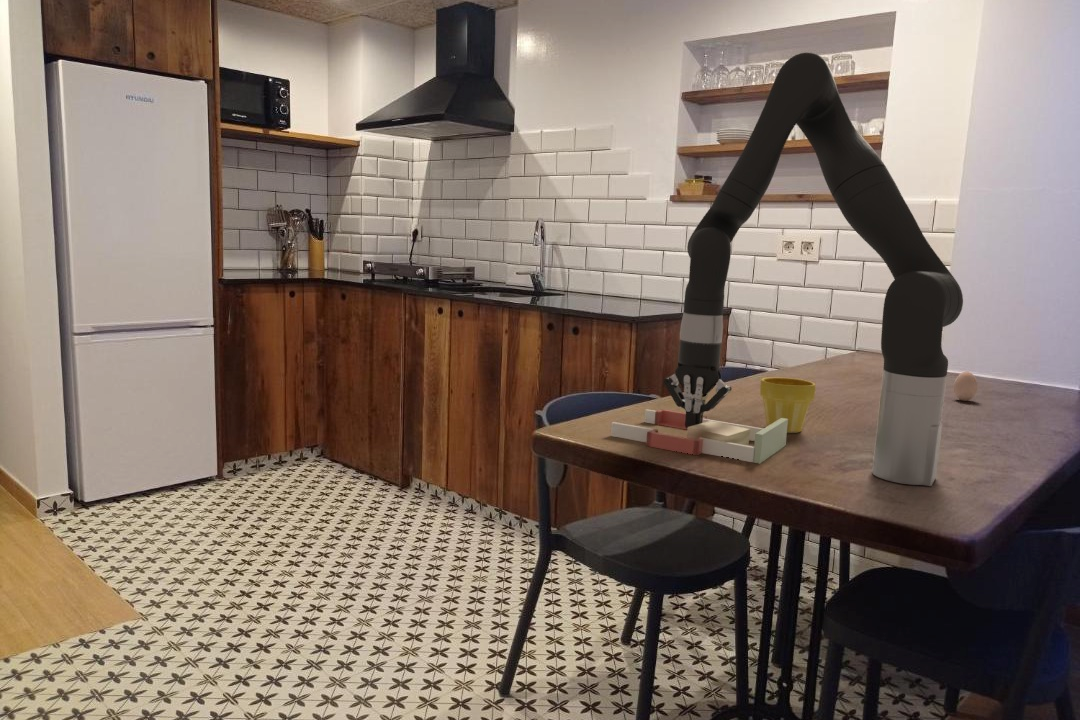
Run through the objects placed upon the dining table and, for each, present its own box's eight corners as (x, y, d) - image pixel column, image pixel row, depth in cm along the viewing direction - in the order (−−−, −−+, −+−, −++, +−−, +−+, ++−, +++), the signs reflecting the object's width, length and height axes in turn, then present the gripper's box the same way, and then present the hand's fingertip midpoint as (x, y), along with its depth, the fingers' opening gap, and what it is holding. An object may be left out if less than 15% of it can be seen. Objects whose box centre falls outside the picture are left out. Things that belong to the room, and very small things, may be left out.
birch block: (748, 450, 146) (750, 429, 145) (725, 458, 140) (727, 436, 139) (708, 441, 151) (710, 420, 150) (685, 448, 145) (687, 427, 144)
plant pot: (765, 420, 169) (769, 374, 168) (816, 428, 164) (820, 380, 163) (750, 429, 160) (754, 381, 159) (803, 438, 155) (808, 388, 154)
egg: (962, 403, 199) (966, 373, 198) (946, 398, 204) (950, 369, 203) (980, 402, 200) (984, 373, 199) (964, 398, 205) (968, 369, 204)
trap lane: (788, 443, 151) (791, 416, 150) (755, 466, 134) (758, 437, 133) (650, 419, 165) (652, 395, 165) (605, 438, 149) (606, 411, 148)
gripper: (743, 341, 147) (734, 434, 150) (674, 333, 154) (667, 422, 157) (729, 344, 141) (720, 441, 143) (658, 336, 148) (651, 428, 150)
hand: (692, 431), depth 150 cm, fingers closed
